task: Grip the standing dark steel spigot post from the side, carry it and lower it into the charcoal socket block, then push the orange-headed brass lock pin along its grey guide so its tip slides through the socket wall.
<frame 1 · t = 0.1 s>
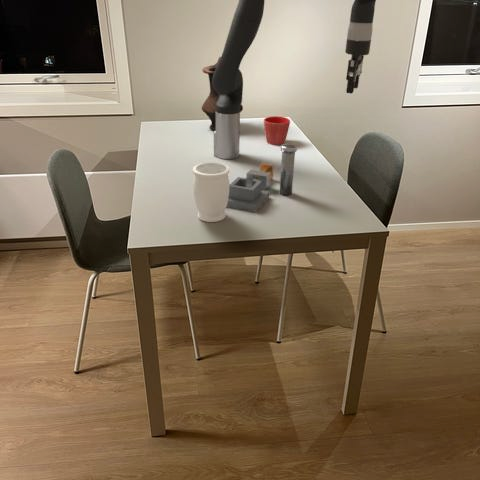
hand: (352, 90, 160), 29 cm above the table, tool pointing down, fingers open, 8 cm apart
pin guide: (258, 187, 161), on the table
flower pot: (275, 142, 204), on the table
lock pin: (261, 176, 162), point 3 cm above the table, slide at 0.0 cm
jar: (211, 216, 142), on the table
spigot: (285, 193, 157), on the table
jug: (222, 128, 221), on the table
socket: (244, 201, 152), on the table
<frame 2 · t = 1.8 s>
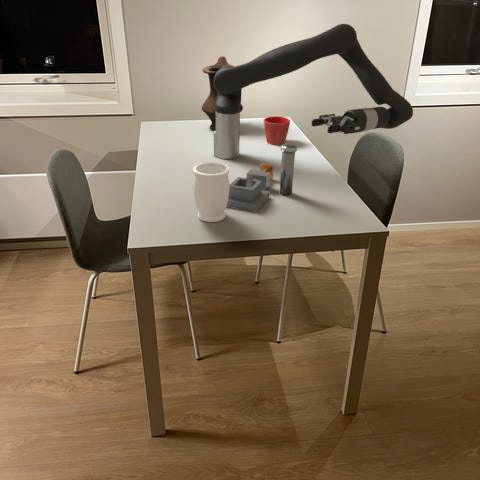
hand: (320, 126, 152), 21 cm above the table, tool horizontal, fingers open, 8 cm apart
nothing on the table moved.
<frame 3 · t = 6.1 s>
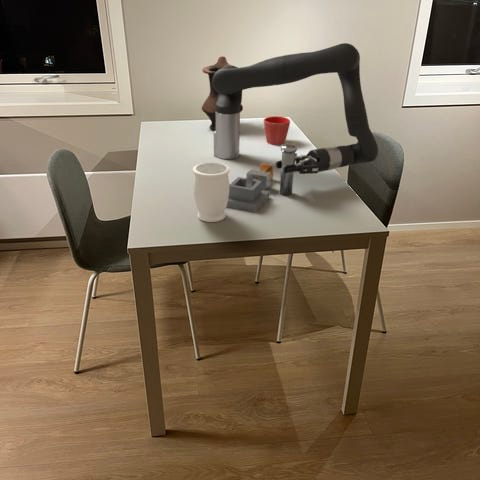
hand: (280, 167, 151), 10 cm above the table, tool horizontal, fingers closed on spigot, 4 cm apart
spigot: (285, 193, 157), on the table, touching gripper
everything else where it was.
when the fingers open (12 cm above the table, at t = 10.1 s): spigot stays where it is, resting on socket.
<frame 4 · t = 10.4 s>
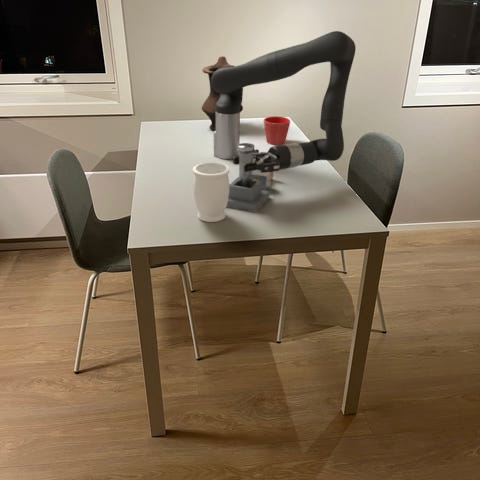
hand: (238, 164, 144), 12 cm above the table, tool horizontal, fingers open, 6 cm apart
spigot: (245, 195, 151), point 2 cm above the table, touching socket
everything else where it was.
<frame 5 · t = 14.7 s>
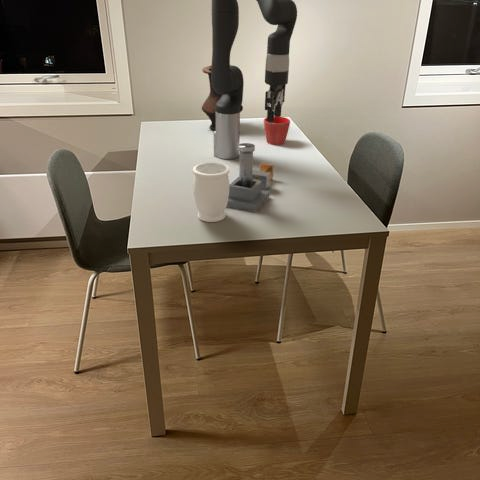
hand: (273, 119, 163), 20 cm above the table, tool pointing down, fingers open, 7 cm apart
nothing on the table moved.
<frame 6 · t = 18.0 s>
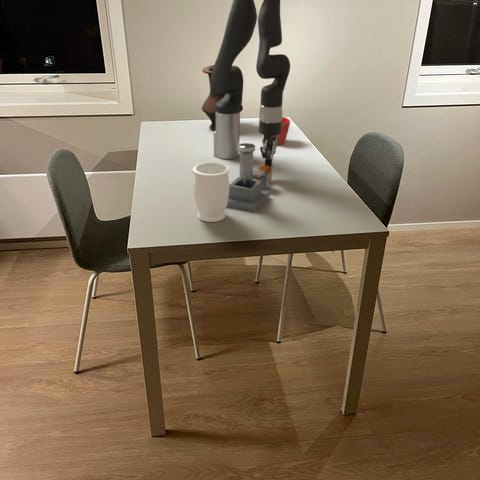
hand: (268, 168, 167), 4 cm above the table, tool pointing down, fingers closed
lock pin: (259, 178, 161), point 3 cm above the table, slide at 1.4 cm, touching gripper
everything else where it was.
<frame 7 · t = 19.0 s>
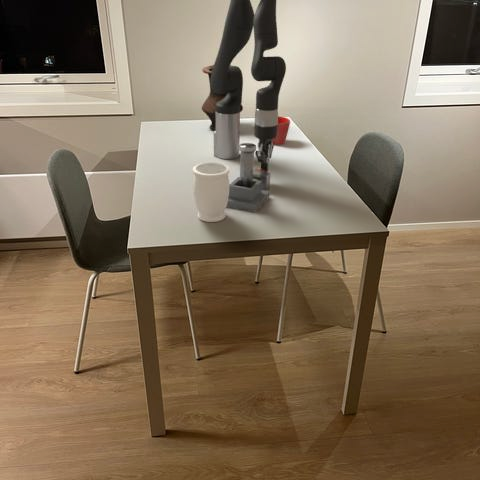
hand: (264, 172, 164), 4 cm above the table, tool pointing down, fingers closed
lock pin: (255, 182, 158), point 3 cm above the table, slide at 5.6 cm, touching gripper
everything else where it was.
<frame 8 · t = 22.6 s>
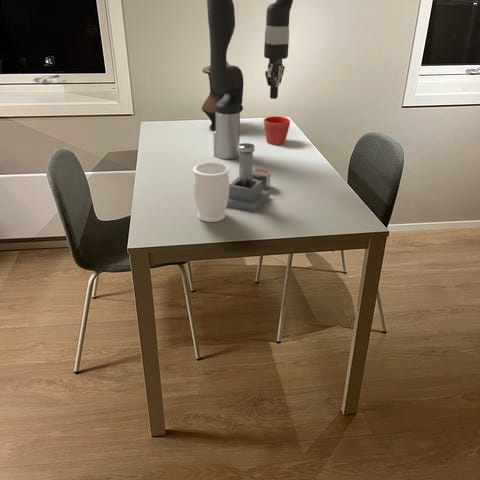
hand: (273, 98, 158), 27 cm above the table, tool pointing down, fingers closed
lock pin: (255, 182, 158), point 3 cm above the table, slide at 5.6 cm
everything else where it was.
at the end: spigot 0.1 cm off-centre on the socket, point 2.1 cm above the socket's base; spigot tilted 2°; lock pin slide at 5.6 cm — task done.
